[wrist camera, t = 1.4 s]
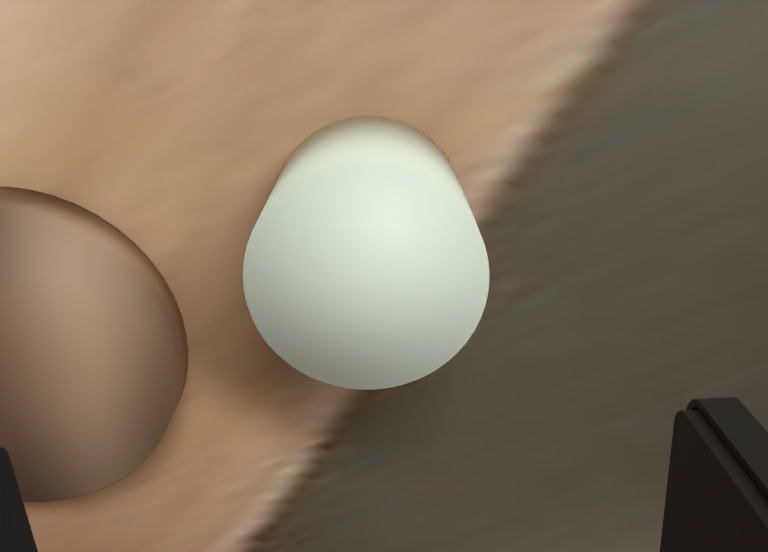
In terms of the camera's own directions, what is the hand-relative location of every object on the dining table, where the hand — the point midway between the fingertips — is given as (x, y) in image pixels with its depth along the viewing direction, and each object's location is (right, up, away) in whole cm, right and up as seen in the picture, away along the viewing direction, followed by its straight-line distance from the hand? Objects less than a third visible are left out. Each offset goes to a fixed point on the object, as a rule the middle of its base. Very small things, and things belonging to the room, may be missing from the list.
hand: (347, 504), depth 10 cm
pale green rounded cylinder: (0, +4, +14) cm, 14 cm away
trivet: (-13, +1, +15) cm, 20 cm away
